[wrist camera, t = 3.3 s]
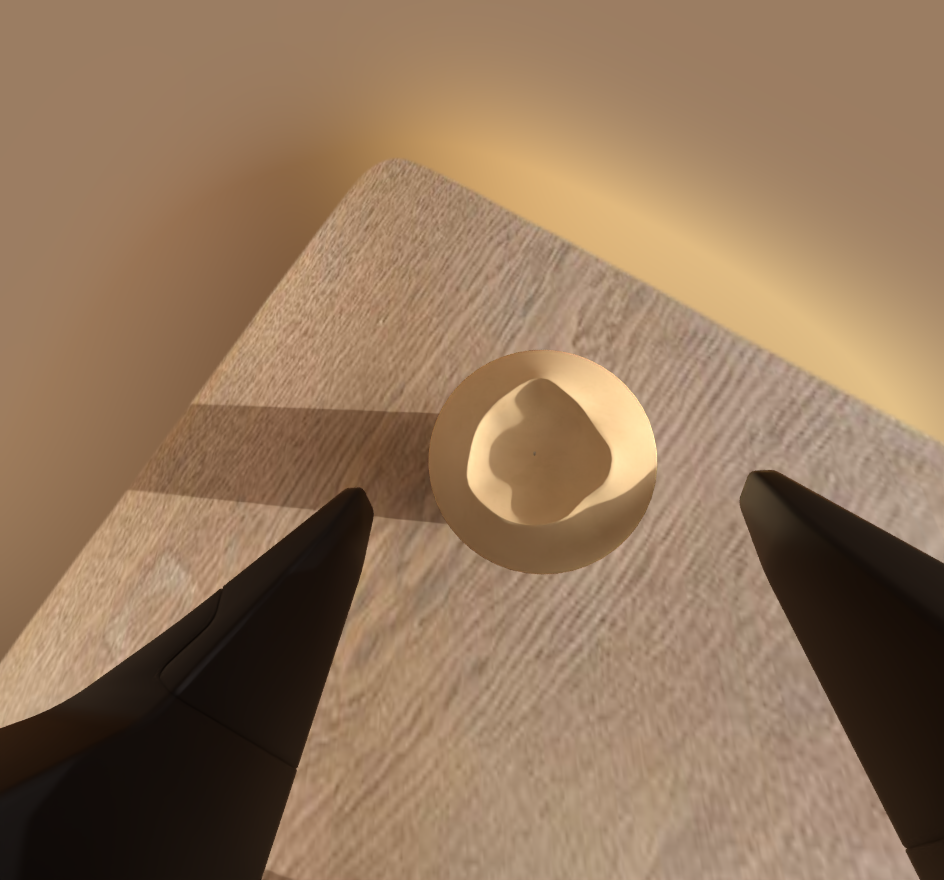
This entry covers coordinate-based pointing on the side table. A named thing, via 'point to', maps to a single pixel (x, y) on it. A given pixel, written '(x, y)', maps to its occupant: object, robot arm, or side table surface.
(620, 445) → the candle
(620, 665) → the side table surface
